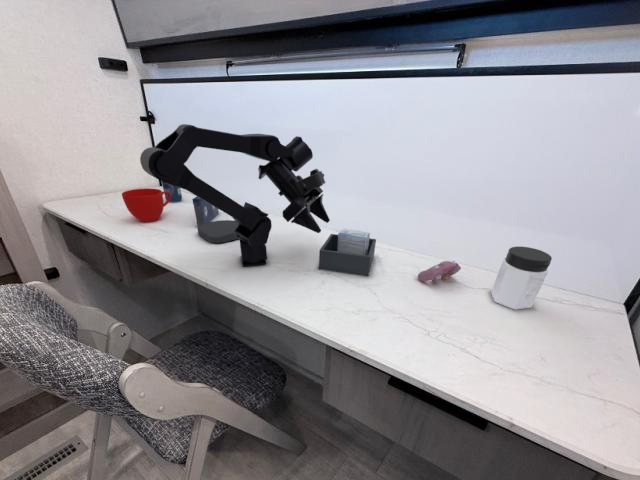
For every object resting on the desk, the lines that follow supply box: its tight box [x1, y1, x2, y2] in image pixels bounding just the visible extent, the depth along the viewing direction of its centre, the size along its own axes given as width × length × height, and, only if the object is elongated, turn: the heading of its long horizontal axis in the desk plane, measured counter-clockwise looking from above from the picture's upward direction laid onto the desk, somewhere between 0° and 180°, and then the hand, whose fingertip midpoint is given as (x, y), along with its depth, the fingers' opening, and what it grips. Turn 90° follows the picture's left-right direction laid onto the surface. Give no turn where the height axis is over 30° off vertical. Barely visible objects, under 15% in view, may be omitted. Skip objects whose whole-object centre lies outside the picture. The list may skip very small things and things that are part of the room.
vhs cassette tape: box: [192, 196, 220, 228], centre depth 114 cm, size 18×3×10 cm, turn 178°
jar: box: [490, 246, 553, 310], centre depth 69 cm, size 9×8×12 cm
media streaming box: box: [197, 219, 239, 244], centre depth 103 cm, size 15×15×3 cm
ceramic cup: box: [121, 187, 170, 223], centre depth 114 cm, size 13×17×10 cm
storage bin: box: [318, 233, 377, 277], centre depth 86 cm, size 14×14×6 cm
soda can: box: [161, 181, 183, 203], centre depth 136 cm, size 7×7×12 cm
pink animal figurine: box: [417, 260, 462, 284], centre depth 78 cm, size 10×5×7 cm, turn 118°
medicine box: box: [337, 228, 371, 255], centre depth 85 cm, size 8×4×9 cm, turn 68°
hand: (324, 226), depth 84 cm, fingers open, 9 cm apart
